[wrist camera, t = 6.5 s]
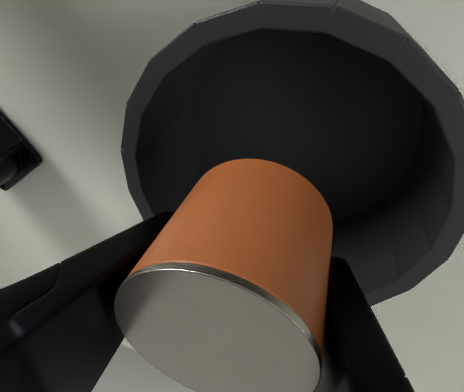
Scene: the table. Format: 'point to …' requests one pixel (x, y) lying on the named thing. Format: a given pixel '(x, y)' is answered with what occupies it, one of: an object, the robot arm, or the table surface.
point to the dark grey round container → (311, 127)
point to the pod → (235, 284)
